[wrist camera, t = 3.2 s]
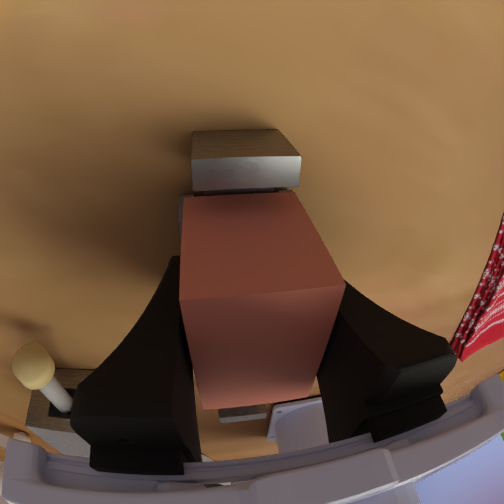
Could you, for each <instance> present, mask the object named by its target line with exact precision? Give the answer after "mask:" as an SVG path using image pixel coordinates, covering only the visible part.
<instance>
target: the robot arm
mask: <svg viewBox="0 0 504 504" xmlns="http://www.w3.org/2000/svg"><path fill="white" fill-rule="evenodd" d="M180 259H181V256H173V257H172V258H171V259H170V262H169V264H168V267H167V269H166V271H165V274H164V276H163V278H162V280H161V282H160V284H159V286H158V288H157V290H156V292H155V294H154V295H153V297H152V299H151V301H150V302H149V304H148V306H147V307H146V309H145V311H144V312H143V314H142V315H141V317H140V318H139V320H138V321H137V323H136V324H135V325H134V327H133V328H132V329H131V331H130V332H129V333H128V335H127V336H126V337H125V338H124V340H123V341H122V342H121V343H120V344H119V346H118V347H117V348H116V349H115V350H114V351H113V352H112V353H111V354H110V355H109V356H108V357H107V358H106V360H105V361H104V362H103V363H102V364H101V365H100V366H99V367H98V368H97V369H95V370H94V371H93V372H92V373H91V374H90V375H89V376H87V377H86V378H85V379H84V380H83V381H82V382H80V383H79V384H78V385H77V389H76V392H75V395H74V399H73V403H72V409H71V416H70V427H71V428H72V429H73V430H74V431H75V433H76V434H77V435H79V436H80V437H81V438H82V439H83V440H85V441H86V442H87V443H88V444H89V445H90V459H88V458H80V457H72V456H66V455H60V454H54V453H48V452H47V451H46V450H45V449H43V448H42V447H40V446H38V445H36V444H34V443H30V442H26V441H21V440H17V439H13V438H9V439H8V442H7V448H6V455H5V463H4V471H3V481H2V494H1V497H2V498H3V499H4V500H6V501H9V502H11V503H14V504H420V501H419V498H418V495H417V492H416V489H415V487H414V483H417V482H419V481H421V480H423V479H425V478H427V477H429V476H431V475H433V474H435V473H437V472H439V471H441V470H443V469H445V468H447V467H448V466H450V465H452V464H454V463H456V462H457V461H459V460H461V459H463V458H464V457H466V456H468V455H469V454H471V453H473V452H474V451H476V450H477V449H479V448H481V447H482V446H484V445H485V444H487V443H488V442H490V441H491V440H493V439H494V438H496V437H497V436H498V435H499V434H501V433H502V432H504V382H503V380H502V378H501V377H500V375H499V374H498V373H497V374H495V375H493V376H491V377H489V378H487V379H485V380H483V381H482V382H480V383H479V384H478V385H477V386H476V387H475V388H474V389H473V390H472V391H471V393H469V394H467V395H465V396H463V397H461V398H459V399H457V400H454V401H452V402H450V403H448V404H444V402H443V400H442V398H441V396H440V395H441V394H442V393H443V389H442V387H441V385H440V383H441V382H442V381H443V380H444V379H445V378H446V377H447V375H448V374H449V373H450V372H451V370H452V369H453V368H454V366H455V364H456V361H457V356H456V354H455V353H454V351H453V349H452V348H451V346H450V344H449V343H448V341H447V340H446V338H444V337H441V336H439V335H436V334H433V333H431V332H428V331H425V330H423V329H421V328H419V327H416V326H414V325H412V324H410V323H408V322H406V321H404V320H402V319H400V318H398V317H397V316H395V315H393V314H391V313H390V312H388V311H386V310H385V309H383V308H381V307H380V306H378V305H377V304H375V303H374V302H373V301H371V300H370V299H368V298H367V297H365V296H364V295H363V294H361V293H360V292H359V291H357V290H356V289H355V288H354V287H352V286H351V285H350V284H349V283H348V282H346V281H345V280H344V279H343V280H344V282H345V283H346V287H345V290H344V293H343V297H342V300H341V303H340V307H339V310H338V313H337V316H336V319H335V322H334V325H333V328H332V331H331V334H330V337H329V340H328V343H327V346H326V349H325V352H324V355H323V358H322V360H321V363H320V366H319V369H318V371H317V374H316V375H317V380H318V384H319V389H320V394H321V397H317V398H312V399H307V400H301V401H295V402H289V403H283V404H277V405H275V406H274V407H273V410H272V415H271V420H270V425H269V429H268V434H267V441H275V440H276V441H277V445H278V450H279V454H274V455H267V456H260V457H253V458H244V459H235V460H224V461H211V462H202V456H201V449H200V441H199V433H198V425H197V416H196V406H195V395H194V382H193V365H192V360H191V356H190V351H189V346H188V342H187V337H186V332H185V327H184V322H183V317H182V312H181V307H180V301H179V288H180ZM254 479H256V480H255V481H250V482H244V483H239V484H232V485H225V486H218V487H209V488H206V486H204V485H203V484H214V483H227V482H238V481H247V480H254Z"/></svg>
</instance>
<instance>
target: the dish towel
mask: <svg viewBox="0 0 504 504" xmlns="http://www.w3.org/2000/svg"><path fill="white" fill-rule="evenodd" d="M503 337H504V214H503V217H502V221H501V225H500V228H499V231H498V234H497V237H496V240H495V243H494V245H493V249H492V252H491V255H490V258H489V260H488V263H487V266H486V268H485V270H484V272H483V275H482V278H481V280H480V283H479V285H478V287H477V289H476V292H475V294H474V296H473V299H472V301H471V303H470V305H469V307H468V309H467V311H466V313H465V315H464V317H463V320H462V322H461V324H460V327H459V329H458V331H457V332H456V335H455V338H454V340H453V342H452V343H451V345H450V346H451V348H452V349H453V351H454V352H455V353H457V354H456V356H457V358H459V359H460V360H461V361H462V362H463V361H464V360H465V359H466V358H467V357H468V356H470V355H471V354H473V353H474V352H476V351H477V350H479V349H481V348H483V347H485V346H486V345H488V344H491V343H493V342H495V341H497V340H499V339H501V338H503Z"/></svg>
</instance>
